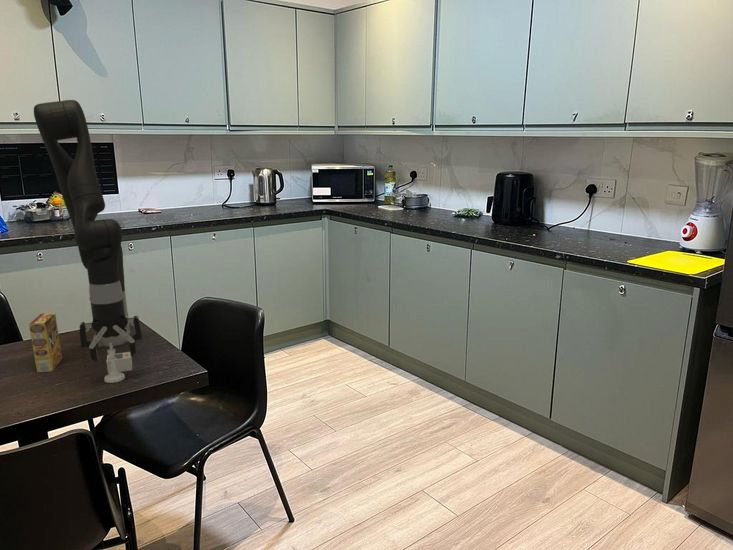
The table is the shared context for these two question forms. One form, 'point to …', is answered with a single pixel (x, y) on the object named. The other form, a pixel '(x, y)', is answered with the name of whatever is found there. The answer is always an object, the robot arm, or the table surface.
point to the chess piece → (113, 368)
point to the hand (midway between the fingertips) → (114, 357)
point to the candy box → (45, 342)
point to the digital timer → (121, 362)
